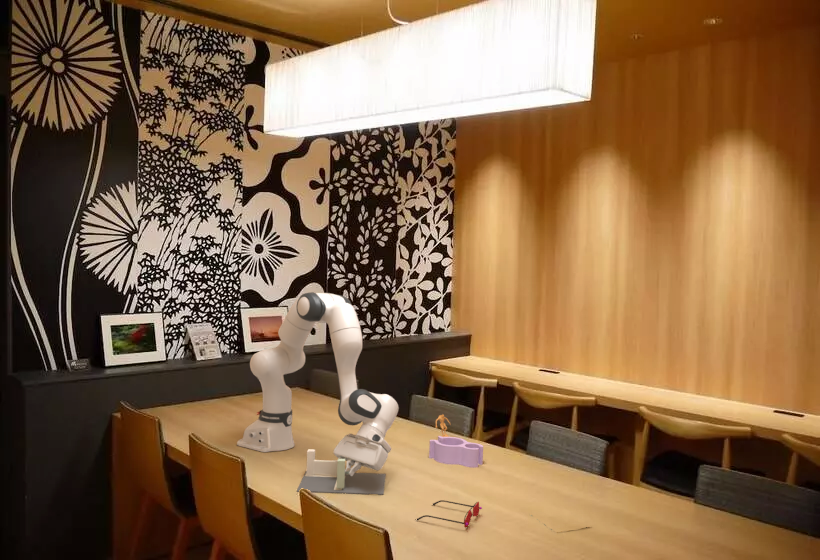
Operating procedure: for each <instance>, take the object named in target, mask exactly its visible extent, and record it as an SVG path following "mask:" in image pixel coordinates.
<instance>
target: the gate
mask: <svg viewBox="0 0 820 560" xmlns="http://www.w3.org/2000/svg"><path fill="white" fill-rule="evenodd" d="M337 460H338V464H337V488H344V482H345V469H346V461H345V459H339V458H337Z"/></svg>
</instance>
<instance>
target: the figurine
mask: <svg viewBox="0 0 820 560" xmlns="http://www.w3.org/2000/svg"><path fill="white" fill-rule="evenodd" d="M438 421H439V426H440V428H441V430H440V431H441V434H442V435H441V436H442V437H450V436H449V435H448V434H447V433H446V432H447V429H448V427H447V425H446V423H445V421H447V423H449V425H450V426H451V421H450V420H449V419H448V418H447V417H446V416H445V415H444V414H440V415H438V418H436V419H435V429H438V426H437V424H438Z"/></svg>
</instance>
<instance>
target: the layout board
mask: <svg viewBox="0 0 820 560" xmlns="http://www.w3.org/2000/svg"><path fill="white" fill-rule="evenodd" d="M386 475H387V473H375V472H373V473H372V472H355V473H354V474H353V476H350V475H347V474H345V482H344V488H337V477H332V475H328V474H314V476H307V470H306V471H305V472H304V474H303V476H302V479H301V480H300V483H299V485H298V487H297V489H296V493H300V492H299V490H300V489H301V488H304V489H308V490H310V491H311V492H310V493H317V494H342V493H343V494H345V493H346V494H347V495H369V494H378V495H377V496H383V495H384V493H385V483H386ZM343 494H342V495H343ZM346 494H345V495H346Z"/></svg>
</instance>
